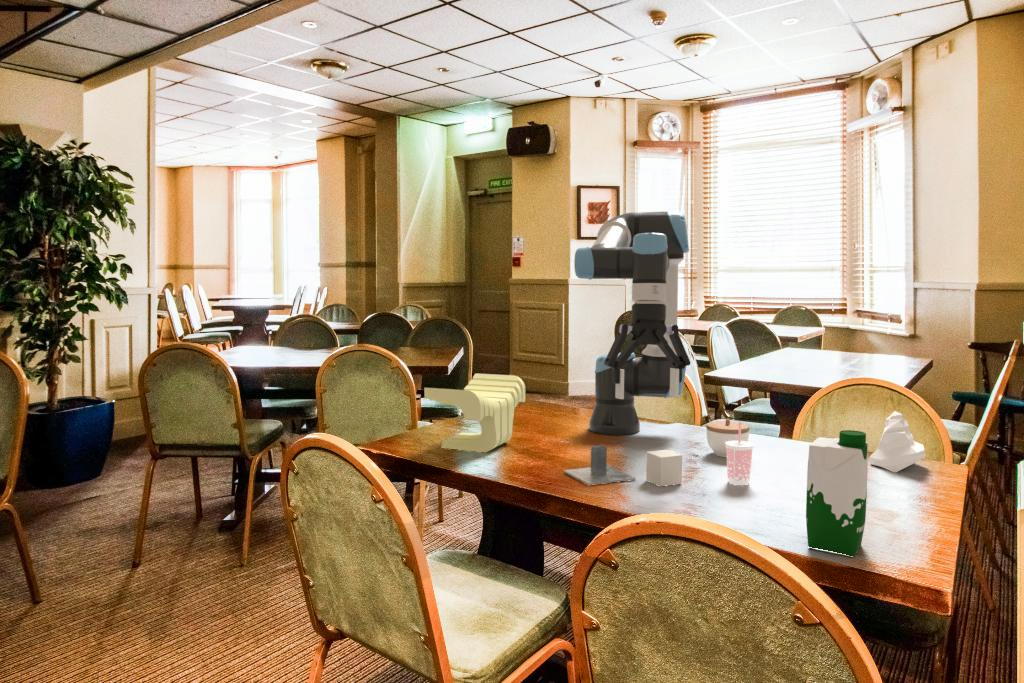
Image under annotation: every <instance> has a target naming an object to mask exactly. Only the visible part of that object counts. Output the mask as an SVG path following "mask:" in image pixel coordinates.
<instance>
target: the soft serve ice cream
mask: <svg viewBox="0 0 1024 683" xmlns="http://www.w3.org/2000/svg"><path fill="white" fill-rule="evenodd" d="M884 426H885V427H884V429H883V432H882V435H881V438H880V439H879V442H878V447H877V449H875V451H874V452H872V454H870V456H868V459H869V462H870V465H873V466H877V467H880V468H883V469H885V470H888V471H890V472H892V473H897V472H899V471H901V470H903V469H905V468H908V467H909V466H911V465H913V464H915V463H918V462H919V461H922V460H923V459H925V458H927V455H926V451H925V447H924V444H923V443H920V442H917V441H915V440H914V436H913V434H912V433H911V431H910V425H909V423H908V420H907V419H905V418H904V416H903V414H902V413H901V412H898V411H897V410H894V411H893V412H892V413H891V414H890V415H889V416H888V417H886V419H885V423H884Z"/></svg>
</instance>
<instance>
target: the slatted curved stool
mask: <svg viewBox="0 0 1024 683" xmlns="http://www.w3.org/2000/svg"><path fill="white" fill-rule="evenodd" d="M467 383H468V384H467V385H465V387H463V389H453V388H437V387H423V388H424V391H423V392H424V399H428V400H429V401H433V402H435V403H440V405H447V406H448V405H449V406H455V407H458V408H459V409H460V410H461V412H462V413H463V414H462V415H463V418H464V420H466V421H475V422H476V421H477V422H478V423H479V424H480V429H481V433H472V432H471V433H470V432H469V433H467V432H460V433H457V434H456V435H453V436H450V437H449V438H446V439H444V440H442V443H441V445H440V446H441V447H440V449H442V448H451V449H458V450H457V451H461V450H467V451H466V452H471V451H476V452H475V453H481V452H484V453H487V452H489V451H491V450H494V449H495V448H497V447H499V446H501V445H503V444H504V443H506V442H508V441H509V440H510V439H511V438H512V435H513V424H514V417H515V416H514V415H515V409H516V408H517V406H518V404H519V403H526V384H525V382H524V381H523V380H522V378H520V377H519V376H517V375H515V374H514V375H513V374H512V375H511V374H493V373H479V372H478V373H474V375H473V376H472V379H470V380H469V382H467ZM451 449H450V450H451Z"/></svg>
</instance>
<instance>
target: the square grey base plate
mask: <svg viewBox="0 0 1024 683" xmlns="http://www.w3.org/2000/svg"><path fill="white" fill-rule="evenodd" d="M590 446H591V447H590V466H589V467H588V466H587V467H581V468H570V469H563V474H565V473H566V474H565V475H567V474H568V475H567V476H569V475H570V476H572V477H574V478H576V479H578V480H580V481H582V482H584V483H586V484H588V485H592V484H602V483H610V482H618V481H625V482H629V481H628V480H633V481H636V477H635V476H633V475H630V474H628V473H626V472H625V471H622V470H619V469H617V468H615V467H613V466H611V465H608V464H607V462H608V461H607V460H608V459H607V452H608V450H607V449H608V448H607V446H604V445H602V444H598V445H596V444H595V445H590ZM570 476H569V477H570ZM572 477H571V478H572ZM574 478H573V479H574ZM576 479H575V480H576ZM578 480H577V481H578ZM580 481H579V482H580ZM582 482H581V483H582ZM618 483H619V482H618ZM610 484H611V483H610ZM602 485H603V484H602Z"/></svg>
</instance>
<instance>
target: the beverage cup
mask: <svg viewBox="0 0 1024 683" xmlns="http://www.w3.org/2000/svg"><path fill="white" fill-rule="evenodd" d="M738 423H739V436H738V441H727V442H725V447H726V453H727V457H726V472H727V473H726V477H727V483H728V482H729V483H732V484H736V485H746V484H749V485H750V479H751V478H750V477H751V468H752V459H753V458H752V457H753V450H754V448H755V444H754V443H753V442H751V441H748V442H746V441H741V423H742V421H740V420H739V421H738ZM729 483H728V484H729Z"/></svg>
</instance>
